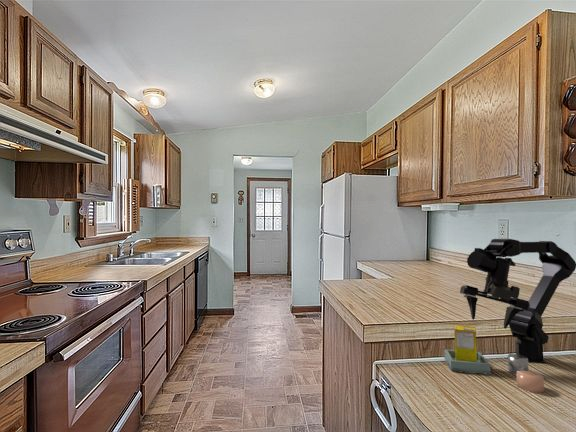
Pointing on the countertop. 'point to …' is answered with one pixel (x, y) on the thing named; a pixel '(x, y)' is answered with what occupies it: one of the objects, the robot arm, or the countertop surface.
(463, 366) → the tray
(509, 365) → the tin
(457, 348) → the supplement box
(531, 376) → the peach egg-shaped pebble
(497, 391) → the countertop surface
